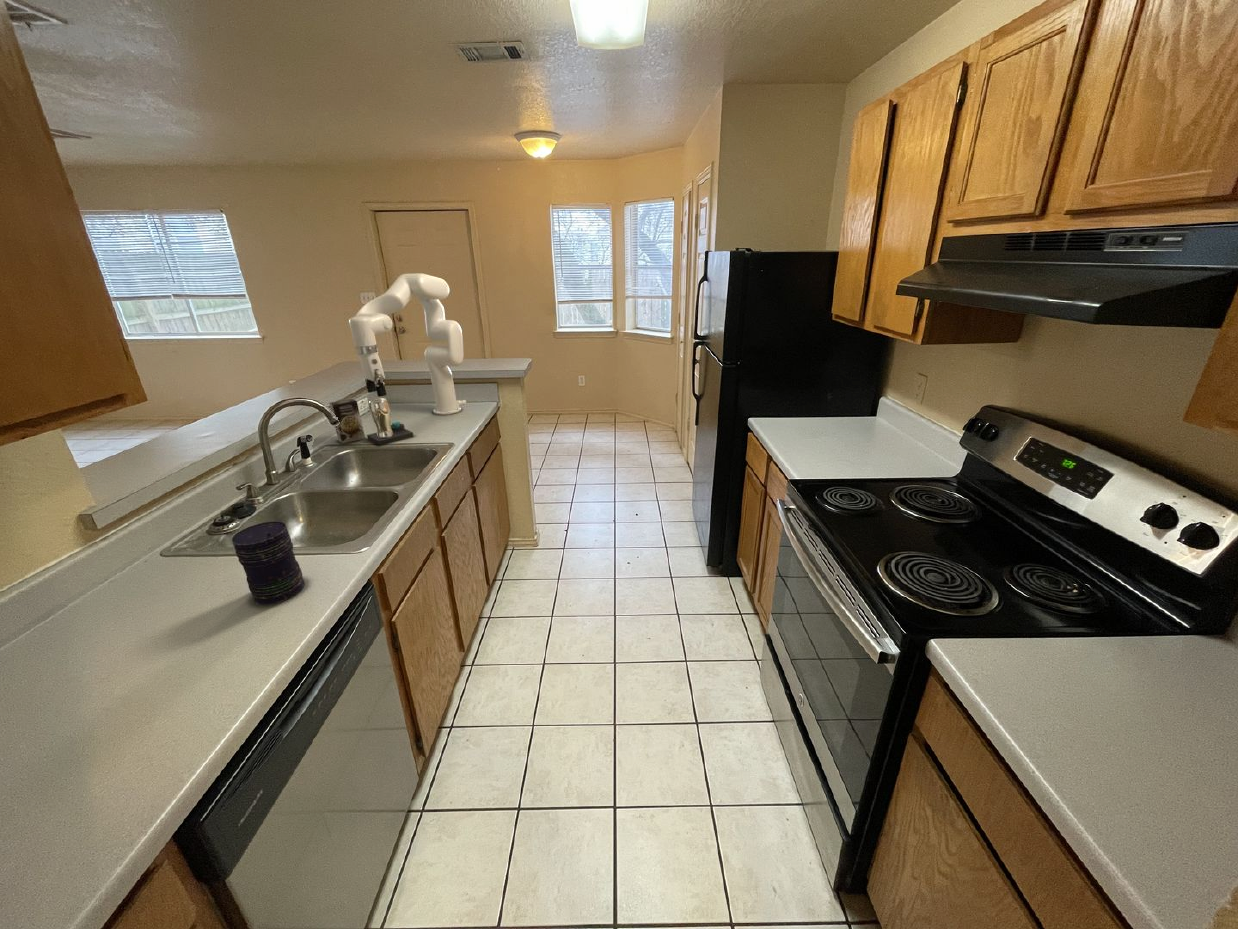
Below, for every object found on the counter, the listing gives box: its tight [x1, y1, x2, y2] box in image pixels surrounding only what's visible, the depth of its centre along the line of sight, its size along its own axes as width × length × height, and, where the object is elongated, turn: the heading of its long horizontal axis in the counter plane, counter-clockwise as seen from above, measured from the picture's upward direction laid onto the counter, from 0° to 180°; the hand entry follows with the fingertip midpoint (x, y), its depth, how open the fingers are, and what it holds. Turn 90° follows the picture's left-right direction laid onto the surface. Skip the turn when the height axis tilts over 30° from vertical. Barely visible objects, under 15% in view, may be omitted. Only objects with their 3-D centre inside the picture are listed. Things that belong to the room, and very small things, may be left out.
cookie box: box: [329, 398, 366, 444], centre depth 206 cm, size 9×6×16 cm
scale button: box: [391, 421, 401, 427], centre depth 213 cm, size 3×3×2 cm
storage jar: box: [231, 520, 306, 606], centre depth 109 cm, size 10×10×15 cm
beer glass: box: [368, 397, 394, 438], centre depth 203 cm, size 7×7×15 cm
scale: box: [366, 423, 414, 446], centre depth 209 cm, size 14×12×4 cm
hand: (377, 393), depth 199 cm, fingers open, 9 cm apart
